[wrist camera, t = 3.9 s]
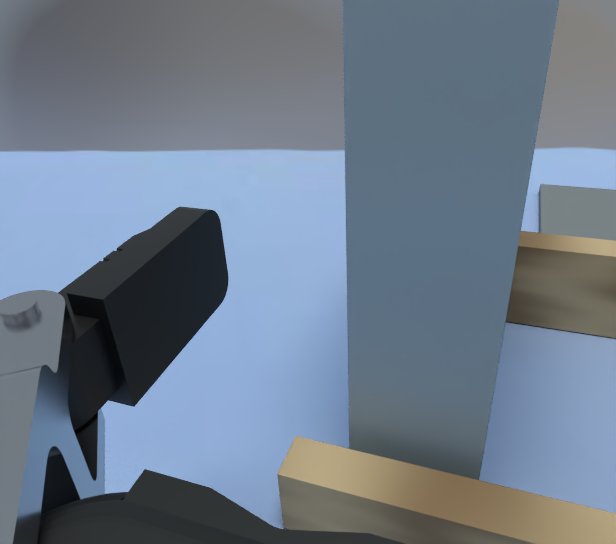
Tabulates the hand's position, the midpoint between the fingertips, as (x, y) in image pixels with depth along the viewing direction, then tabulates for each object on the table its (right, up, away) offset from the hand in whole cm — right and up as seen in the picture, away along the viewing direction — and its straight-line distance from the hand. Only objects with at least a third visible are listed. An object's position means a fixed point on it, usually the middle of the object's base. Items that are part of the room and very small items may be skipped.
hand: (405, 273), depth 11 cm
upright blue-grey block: (+3, -5, +11) cm, 13 cm away
